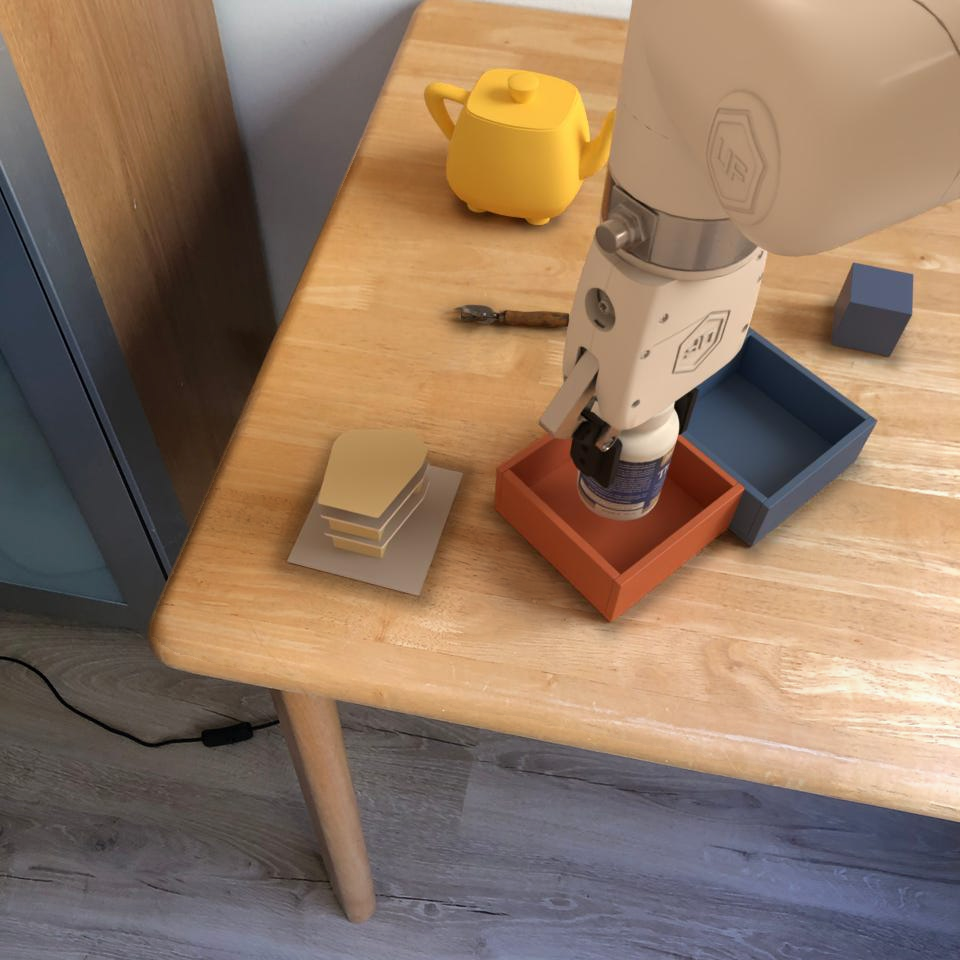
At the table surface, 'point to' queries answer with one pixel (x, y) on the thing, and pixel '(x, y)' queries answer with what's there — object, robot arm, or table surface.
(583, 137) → the teapot
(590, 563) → the terracotta bin
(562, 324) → the can opener
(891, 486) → the table surface
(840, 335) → the blue block
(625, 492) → the pill bottle
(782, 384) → the blue bin
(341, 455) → the stacked layers on plate
